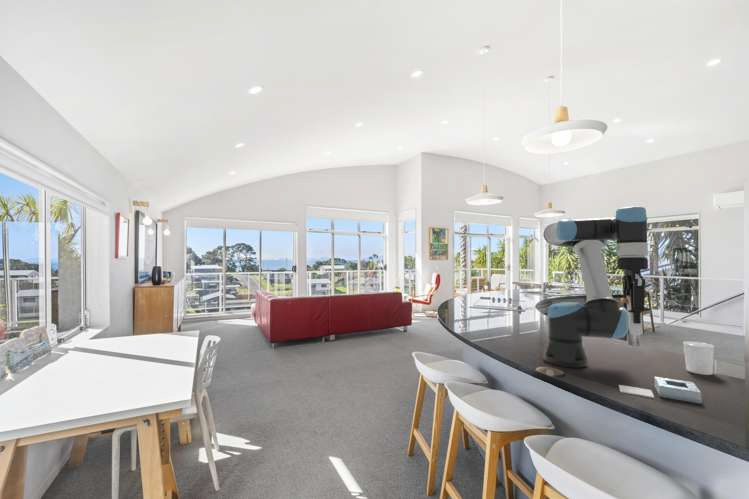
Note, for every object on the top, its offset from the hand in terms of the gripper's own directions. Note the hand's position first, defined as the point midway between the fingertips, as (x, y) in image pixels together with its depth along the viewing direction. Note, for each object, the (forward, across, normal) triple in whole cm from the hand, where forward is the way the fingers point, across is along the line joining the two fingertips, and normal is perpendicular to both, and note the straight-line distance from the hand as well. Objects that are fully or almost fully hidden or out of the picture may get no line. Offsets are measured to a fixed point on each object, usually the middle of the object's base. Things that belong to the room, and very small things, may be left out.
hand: (634, 332), depth 101 cm
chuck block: (+18, -2, +10) cm, 21 cm away
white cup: (+18, -31, +27) cm, 45 cm away
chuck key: (+4, 0, 0) cm, 4 cm away
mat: (+18, 0, 0) cm, 18 cm away
